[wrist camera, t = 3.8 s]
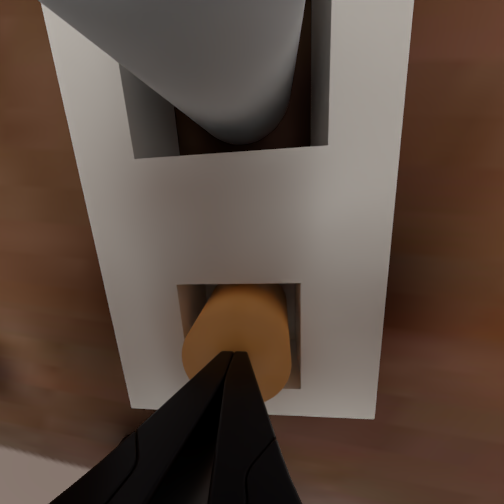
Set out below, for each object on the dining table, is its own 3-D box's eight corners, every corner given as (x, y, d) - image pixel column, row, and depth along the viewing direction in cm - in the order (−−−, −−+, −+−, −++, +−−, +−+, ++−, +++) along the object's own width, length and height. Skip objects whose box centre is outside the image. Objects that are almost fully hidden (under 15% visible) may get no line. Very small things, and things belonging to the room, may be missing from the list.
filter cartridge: (220, 162, 11) (46, 94, 3) (171, 66, 11) (-291, -453, 2) (308, 112, 11) (451, -213, 2) (262, 3, 10) (153, -1452, 1)
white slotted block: (170, 349, 14) (131, 408, 11) (107, -41, 10) (-1, -185, 6) (346, 351, 13) (374, 419, 10) (369, -85, 9) (441, -295, 5)
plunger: (215, 336, 12) (188, 404, 9) (208, 269, 12) (174, 311, 8) (287, 337, 12) (292, 408, 8) (286, 268, 11) (290, 312, 7)
